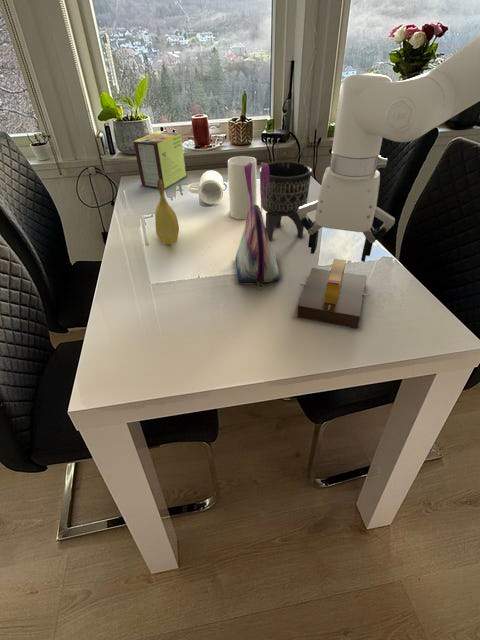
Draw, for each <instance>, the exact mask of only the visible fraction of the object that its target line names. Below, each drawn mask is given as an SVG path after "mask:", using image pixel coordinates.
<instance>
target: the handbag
mask: <svg viewBox="0 0 480 640" xmlns="http://www.w3.org/2000/svg"><path fill="white" fill-rule="evenodd" d="M268 164H269V163H266V162H262V161H260V165H261V167H260V168H261V179H260V178H259V184H260V185H259V186H260V187H259V189H260V190H259V193H260V206H259V205H258V204H257V205H253V203H252V188H251V170H252V163H251V162H250V163H249V164H247V165H245V167H244V168H245V175H246V182H247V187H248V191H249V196H250V206H251V207H250V209H249V213H247V218H246V219H245V223H244V228H243V231H242V234H241V238H240V241H239V245H238V248H237V250H236V254H235V268H236V269H235V270H236V277H237V279H236V280H237V283H238V284H241V285H252V284H258V289H259V291H261V289H263V283H274V282H275V283H276V282H278V281H280V278H281V274H280V269H279V265H278V261H277V257H276V255H275V252H274V249H273V246H272V243H271V240H269V238H268V235H267V229H266V223H265V222H264V217H263V208H262V187H263V181H264V178H265V179H266V198H267V191H268V186H269V177H270V170H269V166H268ZM260 288H261V289H260Z"/></svg>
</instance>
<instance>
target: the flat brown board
mask: <svg viewBox="0 0 480 640" xmlns="http://www.w3.org/2000/svg"><path fill="white" fill-rule="evenodd" d="M330 272H331V269H330V270H329V269H323V268H317V267H311V270H310V272H309V275H308V278H307V280H306V283H299V284H300V285H299V286H303V291H302V293H301V295H300V298H299V302H298V304H297V311H296V318H300V319H305V320H309V321H316V322H320V323H325V324H331V325H337V326H342V327H347V328H353V329H358V328H359V323H360V319H361V315H362V308H363V302H364V301H363V300H364V296H365V297H370V294H369V293H365V289H366V283H367V275H364V274H358V273H350V272H344V275H343V280H342V284H341V288H340V292H339V296H338V300H337V304H332V303H326V302H324V301H325V294H326V287H327V282H328V278H329V275H330Z"/></svg>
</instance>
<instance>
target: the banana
mask: <svg viewBox="0 0 480 640" xmlns="http://www.w3.org/2000/svg"><path fill="white" fill-rule="evenodd" d="M157 185H158V188H157V190H158V192H159V196H160V197H159V199H160V200H159V202H158V203H157V205H156V207H155V211H154V220H155V221H154V222H155V234H156V236H157V238H158V239H159V242H160V243H161V244H163V245H171V244H175V243H177V241H178V237H179V232H180V227H179V221H178V216H177V214H176V211H174V209H173V208H172V206H171V205H170V204H169V202H168V200H167V198H166V195H165V189H166V188H164V182H163V180H161V179H159V180H158V181H157Z"/></svg>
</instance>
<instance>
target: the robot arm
mask: <svg viewBox="0 0 480 640" xmlns="http://www.w3.org/2000/svg"><path fill="white" fill-rule="evenodd" d="M478 102H480V34H478V36H476V37H475V38H474V39H472V40H471V41H470V42H468V43H467V44H466V45H464V46H463V47H462V48H460V49H459V50H457V51H456V52H454V53H453V54H452V55H450V56H449V57H448V58H446V59H445V60H443V61H441V63H439V64H438V65H436V66H435V67H433V68H432V69H430V70H429V71H427V72H425V73H423V74H420V75H418V76H414V77H411V78H408V79H405V80H397V81H392V79H391V78H390V77H389V76H387V75H385V74H384V75H383V74H377V73H357V74H356V73H355V74H352V75H348V76H347V77H345V78H344V79H343V81H342V82H341V84H340V88H339V94H338V100H337V108H336V117H335V122H334V123H335V124H334V131H333V138H332V139H333V140H332V147H331V154H330V163H329V166H327V167H326V168H325V171H324V174H323V176H322V180H321V185H320V188H319V193H318V197H317V199H316V200H314V201H311V202H309V203H308V202H307V204H306V205H303V206H300V207H299V208H298V210H297V213H298V215H299V218H300V220H301V223H302V225H303V226H304V229H305V230H306V231H307V234H308V244H307V248H309V249H310V254H311V255H314V254H315V253H316V250H317V248H318V240H319V232H320V229H321V228H326V229H332V230H338V231H345V232H356V233H362V234H363V235H364V237H365V240H364V244H363V249H362V252H361V253H362V254H361V258H360V261H361V262H363V263H365V262H366V259H367V258H366V257H370V256H371V253H372V248H373V246H374V245H373V244H374V243H375V242H376V241H377V240H379V239H381V238H382V237H383V236H385V235H386V234H387V232H388V231H389V230H390V229H391V228H392V227H393V226H394V225H395V224H396V218H395V217H394V216H392V215H391V214H389V213H388V212H386V211H384V210H383V209H382V208H380V207H378V206H377V205H378V199H379V191H380V184H381V183H380V181H381V172H380V171H379V169H381V168H386V167H387V164H388V158H384V157H382V155H380V152H381V147H382V143H383V138H384V139H385V140H389V141H392V142H395V143H396V142H397V143H408V142H412V141H415V140H417V139H419V138H421V137H423V136H424V135H426V134H428V132H430V131H432V130H434V129H435V128H437V127H438V126H440V125H442V124H444V123H445V122H447V121H448V120H450V119H451V118H454V117H455V116H457V115H458V114H460V113H462V112H463V111H465V110H467V109H468V108H470V107H472V106H474V105H476V104H477V103H478ZM313 211H315V217H314V221H312V219H311V218H310V216H308V213H311V212H313ZM375 218H376V219H378V220H379V221H381V222H382V225H380V226H379V227H377V228H374V226H373V223H374V219H375Z"/></svg>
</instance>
